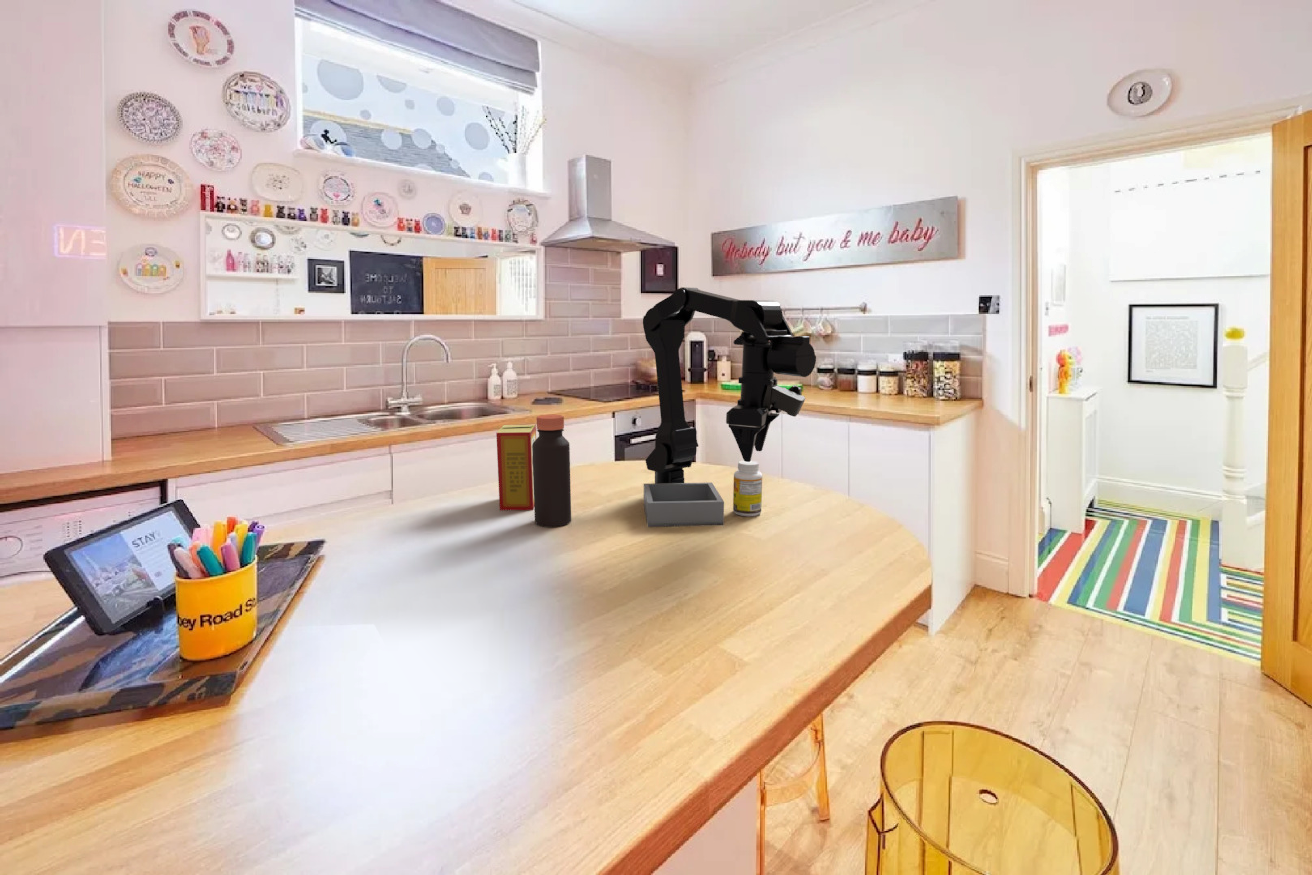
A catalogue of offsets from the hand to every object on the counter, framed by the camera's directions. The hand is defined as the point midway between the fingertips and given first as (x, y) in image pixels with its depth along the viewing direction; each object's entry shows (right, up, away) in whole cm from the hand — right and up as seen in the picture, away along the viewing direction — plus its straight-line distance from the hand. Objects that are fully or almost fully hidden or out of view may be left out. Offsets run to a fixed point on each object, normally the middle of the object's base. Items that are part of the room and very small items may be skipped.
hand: (753, 456), depth 120 cm
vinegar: (-37, -13, +2) cm, 39 cm away
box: (-13, -12, +6) cm, 19 cm away
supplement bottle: (0, -12, +8) cm, 14 cm away
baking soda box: (-46, -10, +14) cm, 49 cm away
